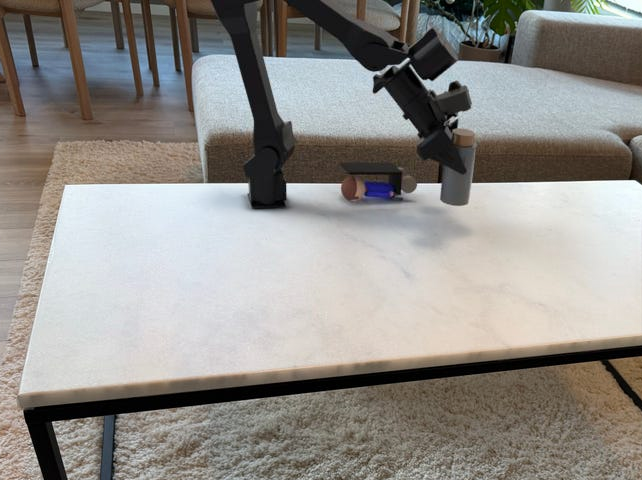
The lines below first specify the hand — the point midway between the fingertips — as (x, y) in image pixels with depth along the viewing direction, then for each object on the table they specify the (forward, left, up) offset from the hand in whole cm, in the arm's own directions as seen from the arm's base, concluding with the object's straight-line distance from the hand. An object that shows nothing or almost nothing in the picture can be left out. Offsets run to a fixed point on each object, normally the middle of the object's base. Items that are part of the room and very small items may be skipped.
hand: (466, 167), depth 128 cm
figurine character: (-12, +16, -13) cm, 24 cm away
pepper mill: (-1, +1, -7) cm, 7 cm away
